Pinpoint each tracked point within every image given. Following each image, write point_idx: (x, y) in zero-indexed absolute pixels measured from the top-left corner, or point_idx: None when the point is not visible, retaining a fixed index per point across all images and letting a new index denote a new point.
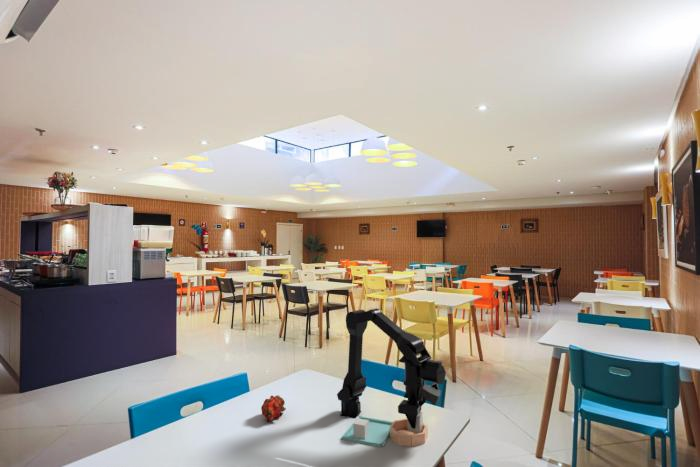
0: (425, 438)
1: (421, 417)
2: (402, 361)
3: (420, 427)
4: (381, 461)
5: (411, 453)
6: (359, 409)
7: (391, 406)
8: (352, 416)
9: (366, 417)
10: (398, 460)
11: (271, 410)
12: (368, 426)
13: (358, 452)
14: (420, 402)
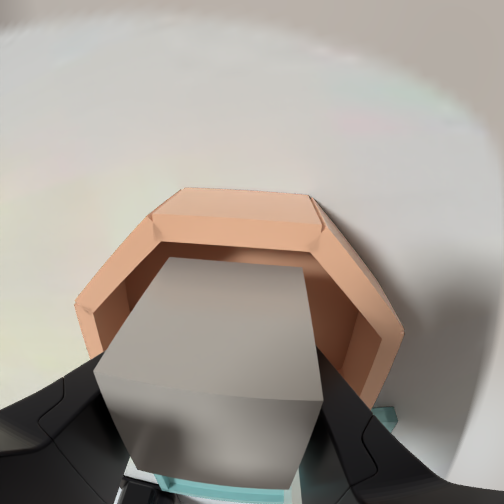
0: (278, 201)
1: (183, 349)
2: None
3: (276, 292)
4: (485, 373)
5: (439, 271)
6: (135, 497)
7: (9, 392)
8: (168, 495)
9: (159, 480)
10: (491, 318)
11: None
12: (299, 499)
13: (416, 447)
14: (12, 499)
